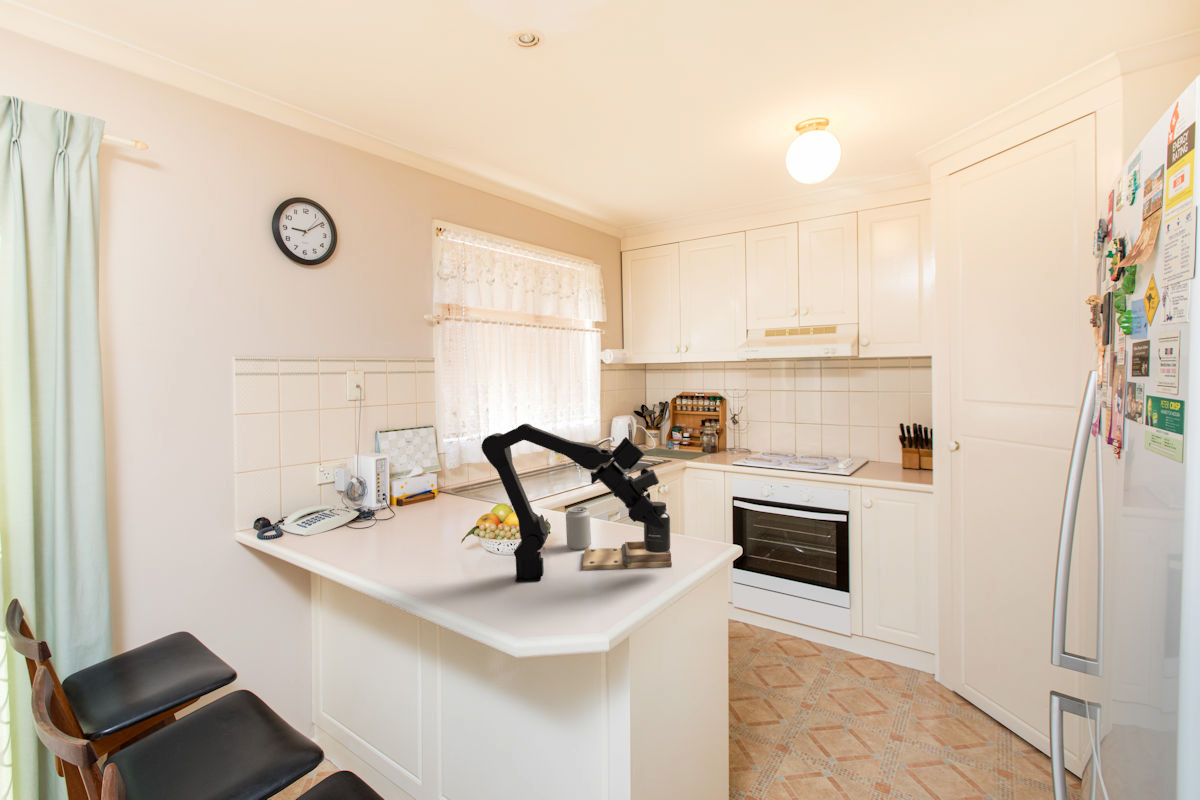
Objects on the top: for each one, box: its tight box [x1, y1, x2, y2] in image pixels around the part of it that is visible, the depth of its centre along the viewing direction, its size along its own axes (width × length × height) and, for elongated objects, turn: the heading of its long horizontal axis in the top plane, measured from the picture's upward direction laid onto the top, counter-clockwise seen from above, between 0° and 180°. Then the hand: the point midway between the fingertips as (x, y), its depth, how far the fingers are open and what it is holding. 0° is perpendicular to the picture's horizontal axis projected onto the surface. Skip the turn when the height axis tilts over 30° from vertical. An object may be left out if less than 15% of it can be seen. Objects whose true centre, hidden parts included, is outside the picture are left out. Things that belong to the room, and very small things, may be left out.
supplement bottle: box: [643, 501, 671, 553], centre depth 137 cm, size 7×7×12 cm
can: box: [565, 506, 592, 551], centre depth 163 cm, size 8×8×12 cm
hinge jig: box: [582, 540, 673, 571], centre depth 150 cm, size 24×14×3 cm, turn 89°
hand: (662, 523), depth 137 cm, fingers closed on supplement bottle, 7 cm apart
